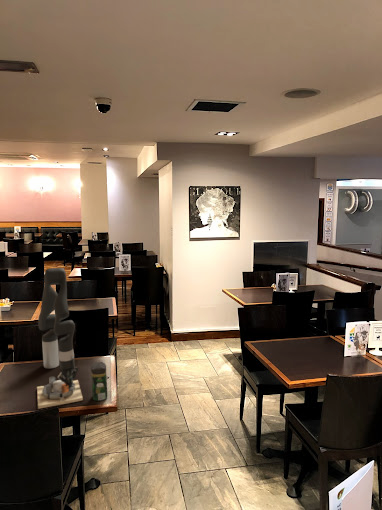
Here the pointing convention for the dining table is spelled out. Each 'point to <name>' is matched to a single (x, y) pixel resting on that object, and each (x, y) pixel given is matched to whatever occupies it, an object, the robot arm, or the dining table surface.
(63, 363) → the robot arm
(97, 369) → the coffee jar
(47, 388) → the ring nut
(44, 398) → the base plate
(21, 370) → the dining table surface
